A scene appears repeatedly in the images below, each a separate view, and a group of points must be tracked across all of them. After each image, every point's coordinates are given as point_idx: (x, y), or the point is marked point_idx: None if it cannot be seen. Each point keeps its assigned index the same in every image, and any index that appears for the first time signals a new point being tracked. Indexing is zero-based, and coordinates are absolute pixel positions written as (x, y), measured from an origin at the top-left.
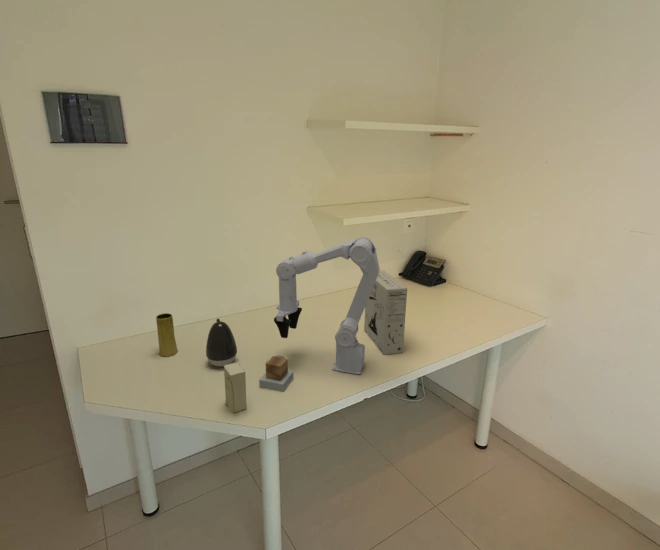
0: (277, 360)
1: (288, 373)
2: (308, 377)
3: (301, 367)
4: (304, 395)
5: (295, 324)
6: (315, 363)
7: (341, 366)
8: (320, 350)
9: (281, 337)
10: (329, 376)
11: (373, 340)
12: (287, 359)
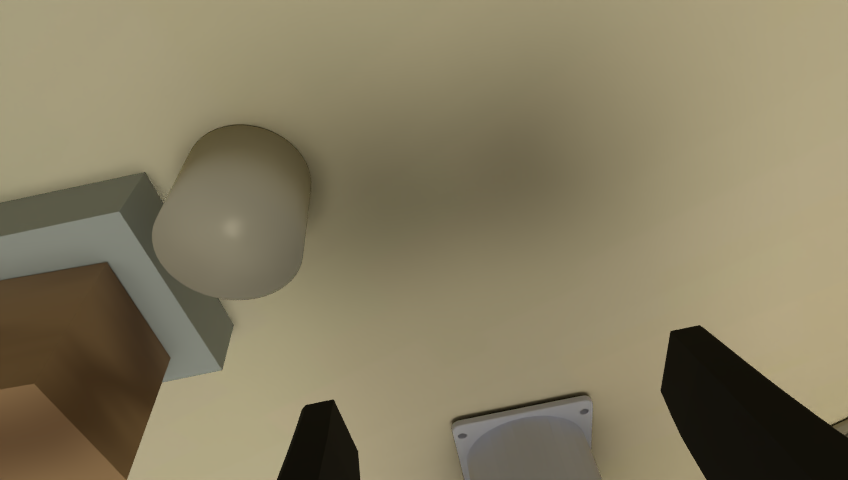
0: (15, 450)
1: (169, 364)
2: (306, 376)
3: (387, 292)
4: (142, 440)
5: (703, 457)
6: (483, 328)
7: (470, 476)
8: (678, 268)
9: (302, 411)
10: (386, 435)
11: (844, 432)
12: (127, 474)
